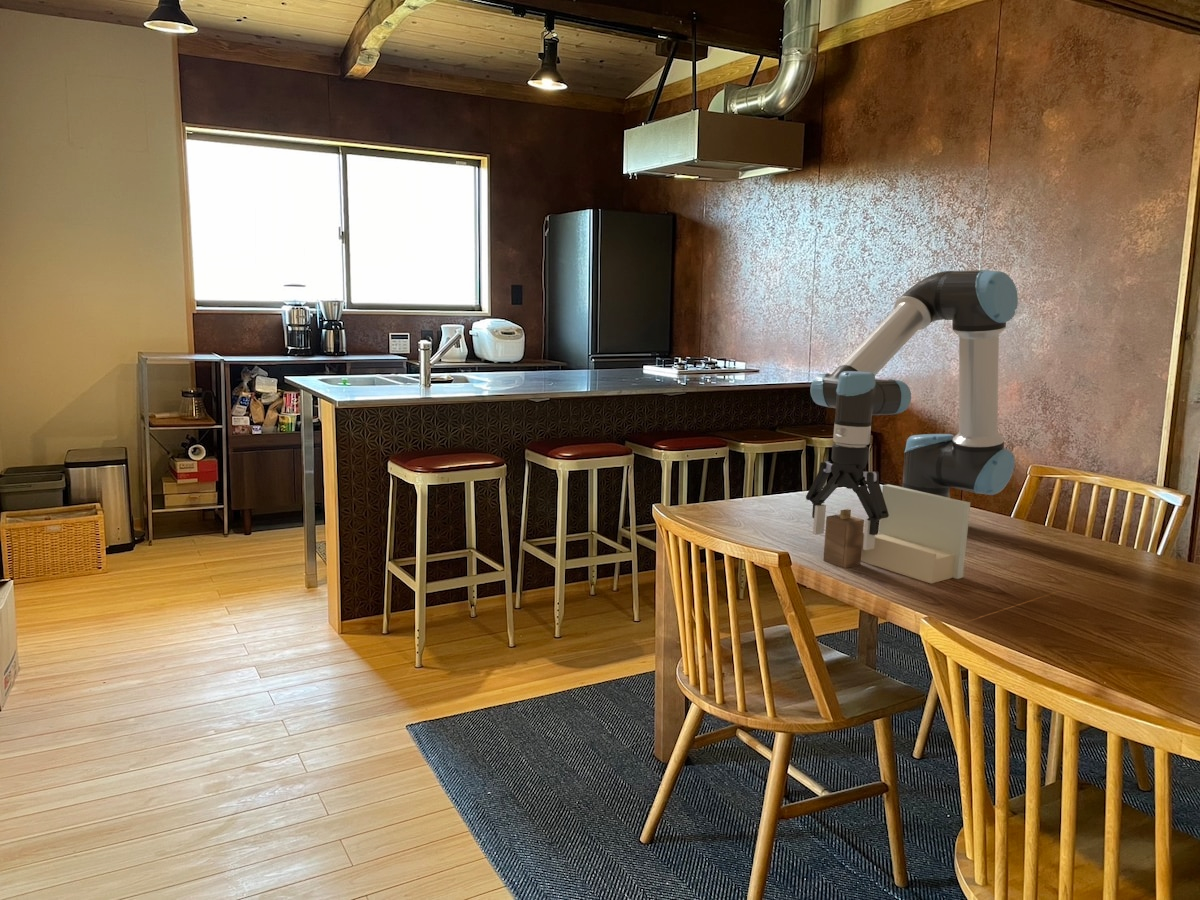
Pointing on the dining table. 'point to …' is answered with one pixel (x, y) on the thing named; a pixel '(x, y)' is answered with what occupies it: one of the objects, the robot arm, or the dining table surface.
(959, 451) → the robot arm
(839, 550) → the wooden block with peg
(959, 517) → the wall board
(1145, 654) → the dining table surface
